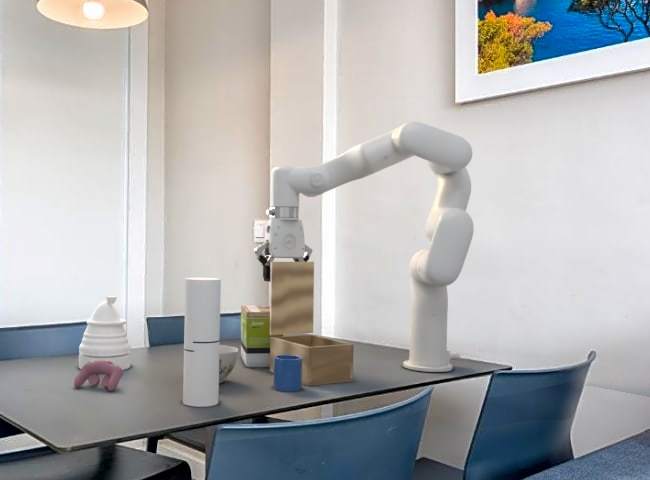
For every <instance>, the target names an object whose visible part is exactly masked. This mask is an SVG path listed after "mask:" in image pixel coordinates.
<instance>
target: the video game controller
mask: <svg viewBox="0 0 650 480" xmlns="http://www.w3.org/2000/svg"><path fill="white" fill-rule="evenodd" d="M123 374H124V370H122V368H121V367H119V366H118V365H117V364H115V363H112V362H110V361H104V360H97V361H92V362H91V361H88V362H87V364H85V365H84V366H83V367H82V369H80V370H79V372H78V373H77V375H76V377H75V378H74V381H73V386H74V388H76V389H77V388H78V389H79V388H80V387H82V386H83V385H84V384H85V383H86V382H87V380H88V384H89V385H90V386H92V387H97V386H99V385H100V384H101V386H102V387H104V388H106V389H107V390H108V391H109V392H113V391H114V390H115V389H116V388H117V387H118V385H119V383H120V380H121V378H122V377H123ZM100 375H104V376H103V377H102V378H100Z"/></svg>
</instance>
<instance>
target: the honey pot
mask: <svg viewBox="0 0 650 480" xmlns="http://www.w3.org/2000/svg"><path fill="white" fill-rule="evenodd" d="M117 297H118V296H116V295H107V296H106V297H105V299H106V300H102V302H100V303H99V304H98V305H97V306H96V307H95V309H94V311H92V314H91V316H90V318H89V319H87V320H86V325H87V326H86V328H85V330H84V332H83V337H82V338H81V343H80V344H79V346H78V350H79V351H78V353H79V354H78V369H80V370H81V369H82V367H83V366H84V365H85V364H87V362H88V361H91V362H92V361H97V360H104V361H110V362H112V363H115V364H117V365H118V366H119V367H121V368H122V370H123V371H124V370H127V369H130V368H131V344H130V342H129V338H128V337H127V334H128V333H127V331H126V329H125V327H124V325H126V324H127V320H126V319H125V318H122V317H121V316H120V314H119V312H118V310H117V308H115V306H114V304H115V303H116V301H117Z"/></svg>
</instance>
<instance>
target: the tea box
mask: <svg viewBox="0 0 650 480" xmlns="http://www.w3.org/2000/svg"><path fill="white" fill-rule="evenodd" d="M278 336H284V335H270V305H263V304H262V305H261V304H259V305H257V304H256V305H240V357H241V359H242V361H243V363H244V365H245V367H246V368H270V337H278Z"/></svg>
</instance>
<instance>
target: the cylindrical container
mask: <svg viewBox="0 0 650 480" xmlns="http://www.w3.org/2000/svg"><path fill="white" fill-rule="evenodd" d="M184 280H185V281H184V327H183V329H184V331H183V377H182V378H183V381H182V382H183V384H182V385H183V386H182V387H183V389H182V404H183V405H185V406H190V407H195V408H206V407H213V406H216V405H218V404H219V394H220V393H219V392H220V391H219V388H220V383H219V345H221V343H220V337H221V293H222V292H221V290H222V289H221V287H222V283H221V282H222V279H221V278H218V277H217V278H215V277H186V278H185V279H184Z"/></svg>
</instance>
